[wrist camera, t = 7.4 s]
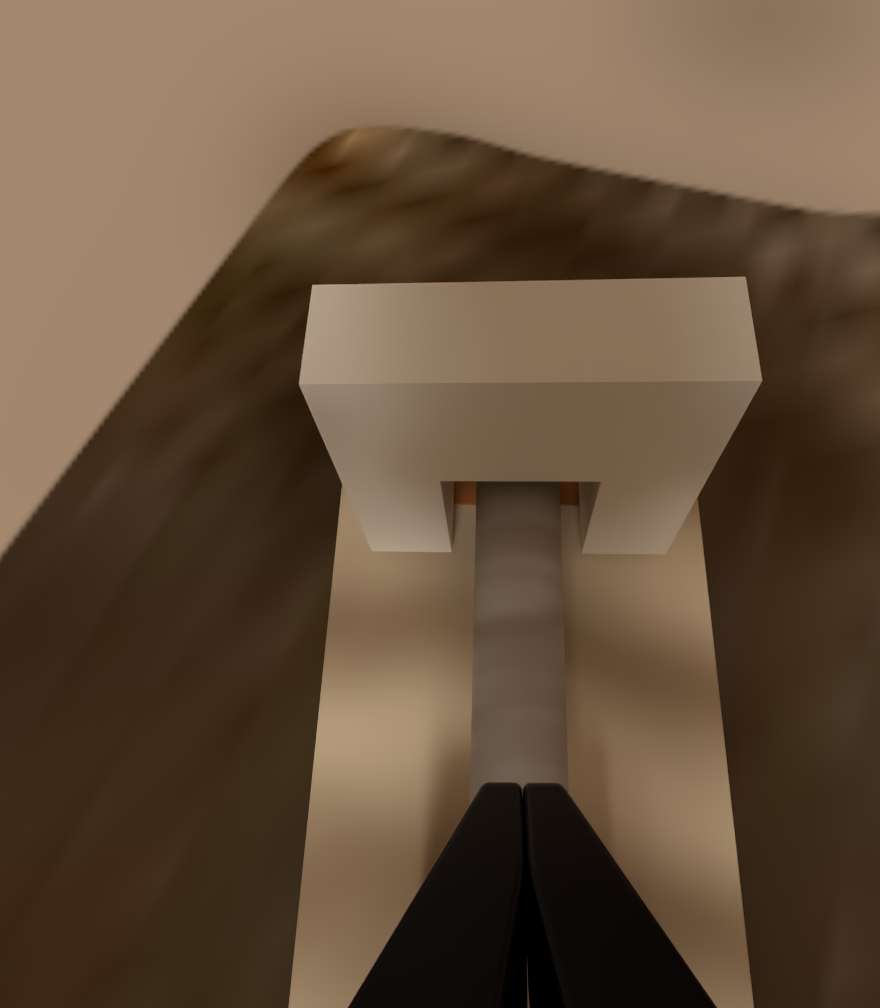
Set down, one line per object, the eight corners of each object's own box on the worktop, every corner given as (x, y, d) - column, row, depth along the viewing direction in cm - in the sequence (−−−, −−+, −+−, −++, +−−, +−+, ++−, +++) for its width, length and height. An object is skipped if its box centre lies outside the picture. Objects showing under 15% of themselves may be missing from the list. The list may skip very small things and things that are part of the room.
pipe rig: (746, 1043, 18) (845, 1121, 13) (296, 1015, 19) (219, 1078, 14) (678, 402, 26) (724, 286, 20) (357, 403, 27) (321, 294, 21)
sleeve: (665, 554, 22) (762, 381, 14) (371, 551, 23) (299, 384, 15) (656, 456, 23) (740, 245, 15) (379, 456, 24) (316, 254, 16)
